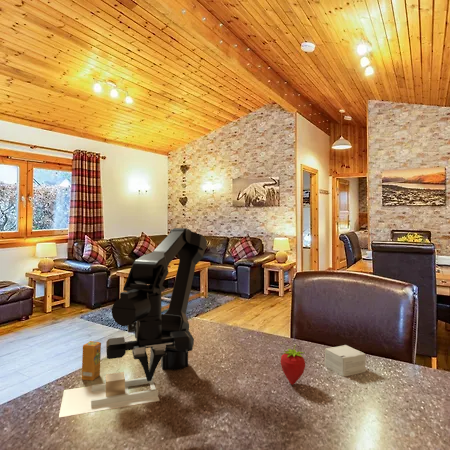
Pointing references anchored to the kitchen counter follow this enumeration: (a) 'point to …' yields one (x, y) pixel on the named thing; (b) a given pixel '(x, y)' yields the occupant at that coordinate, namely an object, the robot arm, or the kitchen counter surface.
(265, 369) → the kitchen counter surface
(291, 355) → the strawberry
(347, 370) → the small box
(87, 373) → the supplement box
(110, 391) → the wooden block
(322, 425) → the kitchen counter surface
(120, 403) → the trough
